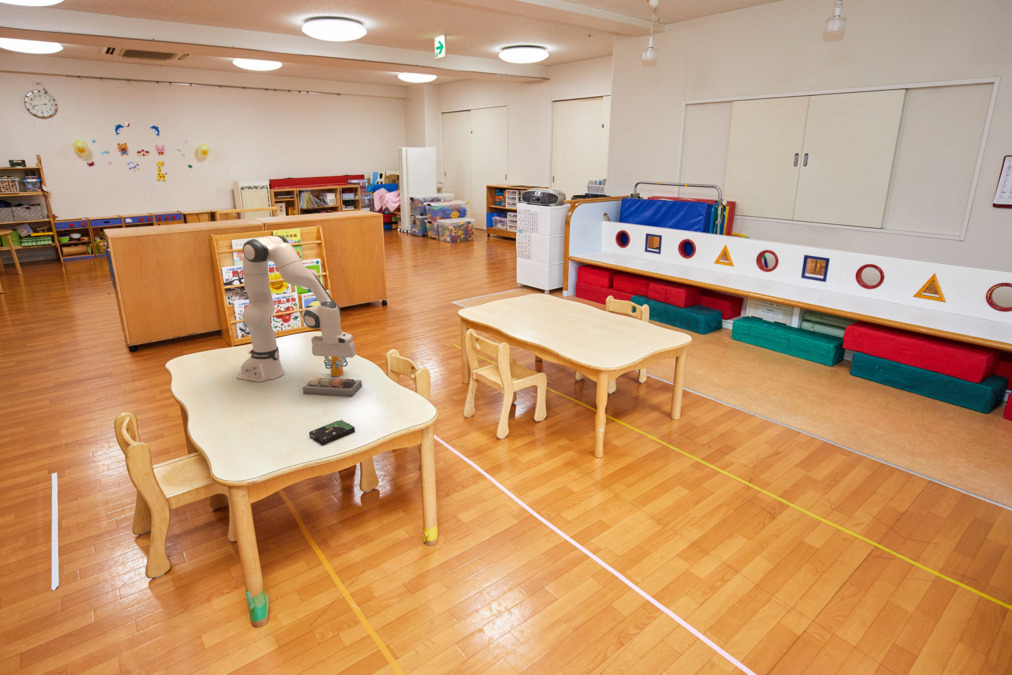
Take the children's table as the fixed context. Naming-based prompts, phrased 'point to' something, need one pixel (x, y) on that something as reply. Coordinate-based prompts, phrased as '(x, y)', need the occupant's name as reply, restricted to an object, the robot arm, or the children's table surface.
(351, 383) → the key charcoal
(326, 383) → the key sage
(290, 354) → the children's table surface
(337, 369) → the orange and blue toy
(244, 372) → the robot arm
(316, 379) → the key white
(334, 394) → the keyboard
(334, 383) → the key terracotta
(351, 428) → the disk drive
